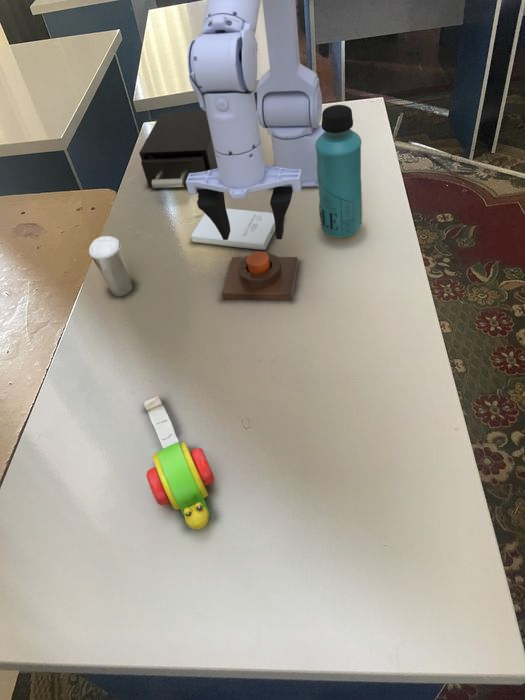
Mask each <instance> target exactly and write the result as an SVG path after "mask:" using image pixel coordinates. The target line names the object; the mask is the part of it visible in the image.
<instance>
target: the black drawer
mask: <svg viewBox="0 0 525 700" xmlns="http://www.w3.org/2000/svg"><path fill="white" fill-rule="evenodd" d="M140 164H141V167H142V171H143V173H144V176H145V179H146V182H147V186H148V188H149V189H156V188H158V189H159V188H162V189H163V188H187V185H186V180H187V177H188V175H189V173H198V172H204V171H207V167H206V163H205V158H204V154H184V155H160V156H149V159H142V160H141V162H140Z"/></svg>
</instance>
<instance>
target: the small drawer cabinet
mask: <svg viewBox="0 0 525 700" xmlns="http://www.w3.org/2000/svg"><path fill="white" fill-rule="evenodd" d="M184 154H204V158H205V163H206V167H207V171H208V170H213V169H217V168H218V166H217V162H216V157H215V152H214V147H213V143H212V138H211V133H210V129H209V124H208V119H207V114H206V111H204V110H197V111H180V112H164V113H160V114H159V116H158V118H157V119H156V121H155V123H154V125H153V126H152V128H151V131H150V132H149V134H148V136H147V138H146V140H145V142H144V143H143V145H142V146H141V149H140V151H139V152H138V155H139V156H140V160H141V161H142V159H149V156H160V155H184Z"/></svg>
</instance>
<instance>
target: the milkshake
mask: <svg viewBox="0 0 525 700" xmlns="http://www.w3.org/2000/svg"><path fill="white" fill-rule="evenodd" d="M121 238H122V237H121V235H120V236H119V239H118V238H117V237H114V236H112V235H103V236H99V237H97V238H95V239H94V240H93V241H92V242H91V244H90V245H89V248H88V253H89V255H90V257H91V259H92V261H93V262H94V263H95V265H96V268H97V269H98V271H99V272H100V274H101V276H102V278H103V279H104V282H105V283H106V285H107V287H108V289H109V291H110V292H111V294H112V295H114V296H115V297H123V296H126V295H128V294H129V293H130V292H131V291H132V290H133V282H132V279H131V275H130V273H129V268H128V266H127V262H126V259H125V256H124V252H123V248H122V243H121Z"/></svg>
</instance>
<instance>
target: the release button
mask: <svg viewBox="0 0 525 700" xmlns="http://www.w3.org/2000/svg"><path fill="white" fill-rule="evenodd" d="M265 252H266V251H263V250H258V251H253V252H251V253H249V254H248V255H249V256H248V257H247V265H248V270H249V272H250V273H251V274H263V273H266V272H268V271H269V269H270V261H269V256H268V254H267V253H265Z"/></svg>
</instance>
